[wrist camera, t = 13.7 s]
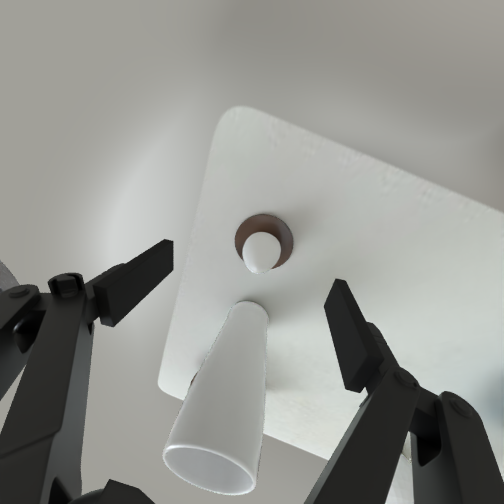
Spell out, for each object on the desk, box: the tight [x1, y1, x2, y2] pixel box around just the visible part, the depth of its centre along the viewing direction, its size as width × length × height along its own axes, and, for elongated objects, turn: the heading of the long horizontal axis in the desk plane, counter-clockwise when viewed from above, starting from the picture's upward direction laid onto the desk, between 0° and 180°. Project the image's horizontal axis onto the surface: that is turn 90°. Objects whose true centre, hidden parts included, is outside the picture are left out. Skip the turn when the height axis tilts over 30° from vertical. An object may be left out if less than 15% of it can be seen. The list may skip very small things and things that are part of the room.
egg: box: [242, 232, 281, 274], centre depth 19 cm, size 4×4×6 cm
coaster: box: [235, 214, 293, 269], centre depth 22 cm, size 6×6×1 cm
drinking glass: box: [162, 301, 268, 495], centre depth 20 cm, size 7×7×15 cm
